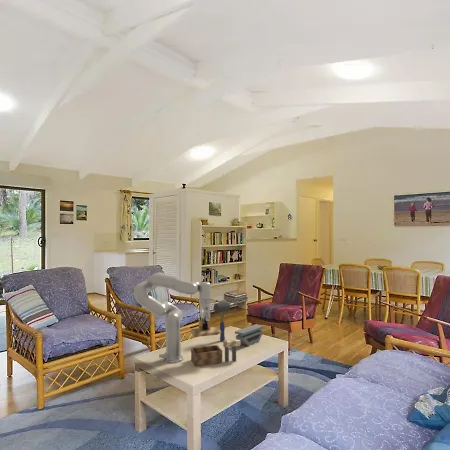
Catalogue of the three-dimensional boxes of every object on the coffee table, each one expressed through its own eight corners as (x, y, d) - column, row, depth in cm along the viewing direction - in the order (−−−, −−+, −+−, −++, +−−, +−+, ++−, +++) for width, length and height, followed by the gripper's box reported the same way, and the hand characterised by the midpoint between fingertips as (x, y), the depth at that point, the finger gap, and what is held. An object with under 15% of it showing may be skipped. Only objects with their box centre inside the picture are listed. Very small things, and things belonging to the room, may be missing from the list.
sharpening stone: (255, 338, 269) (255, 324, 269) (263, 340, 264) (263, 326, 264) (234, 346, 251) (234, 331, 251) (243, 348, 245) (242, 333, 246)
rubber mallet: (219, 343, 256) (218, 304, 257) (213, 341, 262) (212, 302, 263) (231, 340, 265) (231, 301, 265) (225, 338, 270) (224, 300, 271)
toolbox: (195, 366, 213) (194, 351, 213) (191, 360, 224) (191, 345, 225) (236, 361, 221) (236, 346, 221) (230, 355, 233) (230, 340, 233)
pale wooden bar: (224, 347, 219) (224, 341, 219) (223, 346, 222) (223, 340, 222) (240, 346, 222) (240, 339, 222) (239, 344, 225) (239, 338, 225)
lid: (193, 337, 214) (193, 324, 214) (190, 332, 225) (190, 320, 225) (221, 335, 219) (221, 322, 219) (216, 329, 230) (216, 317, 230)
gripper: (213, 303, 218) (213, 331, 218) (207, 298, 234) (206, 324, 233) (202, 303, 216) (201, 332, 215) (196, 298, 231) (196, 325, 231)
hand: (204, 328), depth 224 cm, fingers closed on lid, 3 cm apart
